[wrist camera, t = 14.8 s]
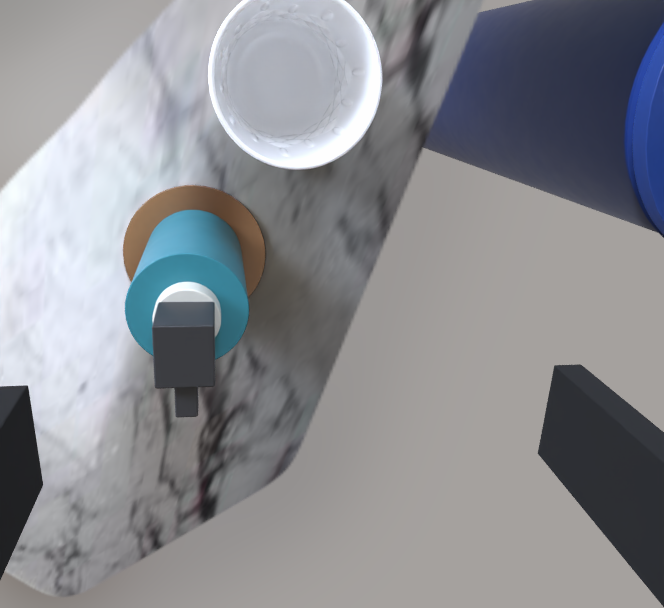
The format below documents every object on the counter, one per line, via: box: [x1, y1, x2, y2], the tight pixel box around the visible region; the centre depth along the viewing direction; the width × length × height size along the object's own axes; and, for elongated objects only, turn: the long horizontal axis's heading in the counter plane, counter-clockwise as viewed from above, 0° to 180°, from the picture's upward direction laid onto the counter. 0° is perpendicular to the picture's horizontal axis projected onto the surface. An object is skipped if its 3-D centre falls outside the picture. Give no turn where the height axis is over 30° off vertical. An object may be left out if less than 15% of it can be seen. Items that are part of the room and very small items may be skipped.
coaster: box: [123, 185, 265, 297], centre depth 39 cm, size 9×9×1 cm
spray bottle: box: [125, 210, 249, 417], centre depth 33 cm, size 7×6×14 cm
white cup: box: [208, 0, 382, 170], centre depth 32 cm, size 8×8×10 cm
